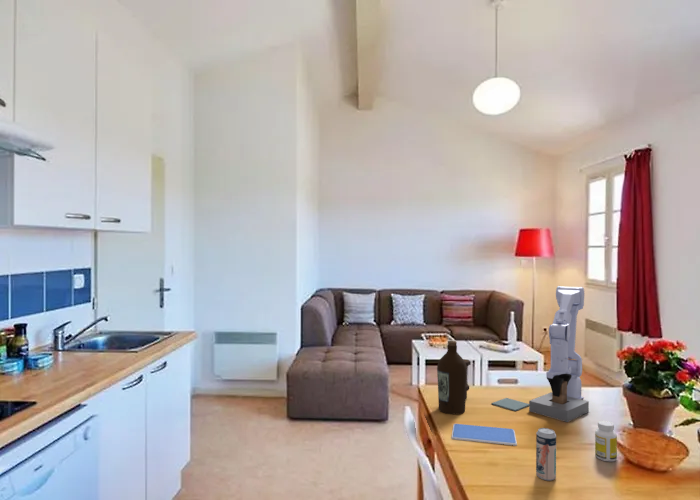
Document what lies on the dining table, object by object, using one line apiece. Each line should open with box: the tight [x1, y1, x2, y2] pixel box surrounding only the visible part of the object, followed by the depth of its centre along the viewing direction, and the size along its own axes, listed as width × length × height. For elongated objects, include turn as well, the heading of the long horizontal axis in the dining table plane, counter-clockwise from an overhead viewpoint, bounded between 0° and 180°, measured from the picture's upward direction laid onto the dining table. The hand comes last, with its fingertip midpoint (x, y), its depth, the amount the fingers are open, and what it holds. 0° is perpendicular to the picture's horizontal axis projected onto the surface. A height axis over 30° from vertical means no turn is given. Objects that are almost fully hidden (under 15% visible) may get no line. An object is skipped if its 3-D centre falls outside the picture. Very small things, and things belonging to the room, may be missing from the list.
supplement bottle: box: [594, 420, 618, 462], centre depth 134 cm, size 5×5×10 cm
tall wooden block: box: [552, 381, 567, 404], centre depth 172 cm, size 4×4×8 cm
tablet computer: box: [450, 423, 518, 446], centre depth 151 cm, size 19×13×1 cm, turn 75°
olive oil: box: [436, 340, 468, 415], centre depth 174 cm, size 11×11×25 cm
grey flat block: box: [528, 391, 590, 423], centre depth 173 cm, size 16×14×4 cm
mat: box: [491, 397, 529, 412], centre depth 180 cm, size 10×10×1 cm
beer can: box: [535, 427, 557, 482], centre depth 123 cm, size 5×5×12 cm
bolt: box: [462, 358, 472, 400], centre depth 187 cm, size 6×5×15 cm
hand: (558, 394), depth 173 cm, fingers closed on tall wooden block, 4 cm apart
